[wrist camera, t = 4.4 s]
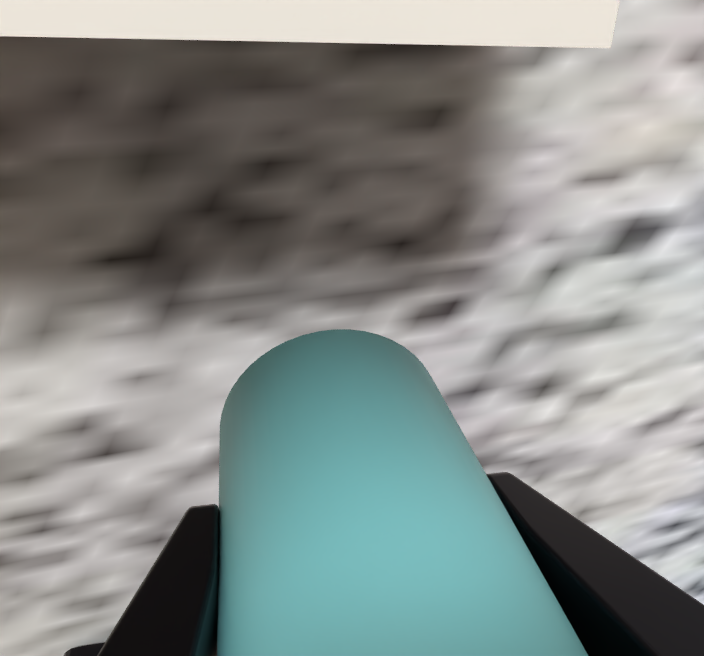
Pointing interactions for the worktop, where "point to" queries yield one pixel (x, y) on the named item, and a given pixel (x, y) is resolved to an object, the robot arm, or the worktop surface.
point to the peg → (366, 517)
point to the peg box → (322, 21)
